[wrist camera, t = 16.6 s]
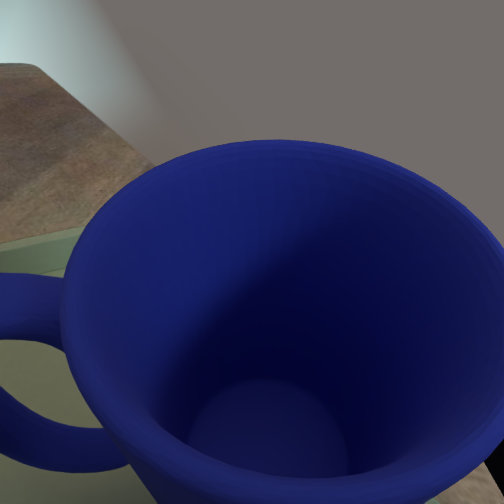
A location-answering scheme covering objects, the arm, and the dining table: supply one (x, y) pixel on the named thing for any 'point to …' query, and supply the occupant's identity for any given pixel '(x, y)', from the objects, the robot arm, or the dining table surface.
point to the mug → (272, 332)
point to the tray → (54, 396)
